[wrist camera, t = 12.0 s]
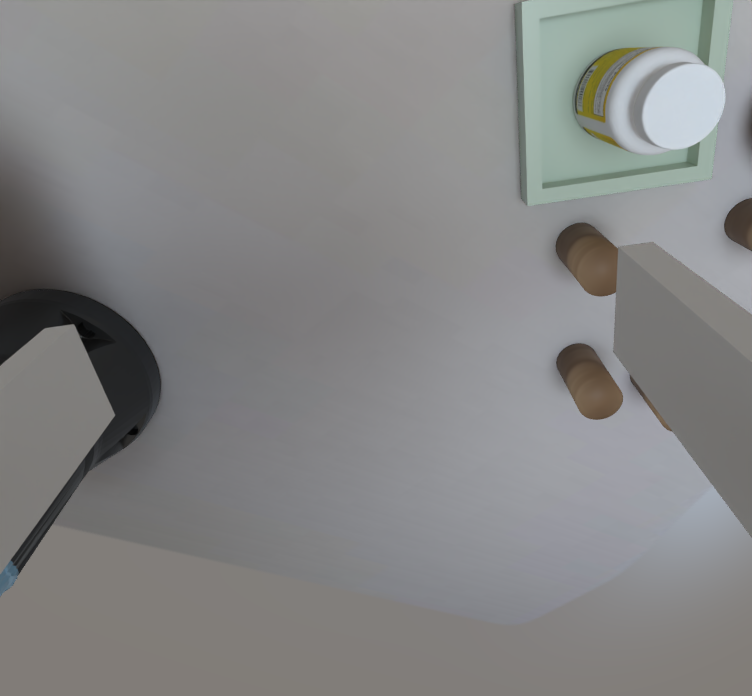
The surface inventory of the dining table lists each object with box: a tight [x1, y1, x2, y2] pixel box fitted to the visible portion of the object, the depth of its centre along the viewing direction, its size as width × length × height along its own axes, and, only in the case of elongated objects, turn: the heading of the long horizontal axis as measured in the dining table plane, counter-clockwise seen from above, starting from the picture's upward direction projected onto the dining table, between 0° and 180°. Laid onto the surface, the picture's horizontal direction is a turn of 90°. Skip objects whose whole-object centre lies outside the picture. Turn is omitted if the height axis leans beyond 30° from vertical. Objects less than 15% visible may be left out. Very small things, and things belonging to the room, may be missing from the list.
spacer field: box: [556, 198, 752, 432], centre depth 41 cm, size 15×15×6 cm
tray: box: [515, 0, 733, 206], centre depth 36 cm, size 12×12×2 cm
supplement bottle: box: [573, 47, 725, 155], centre depth 32 cm, size 5×5×10 cm
